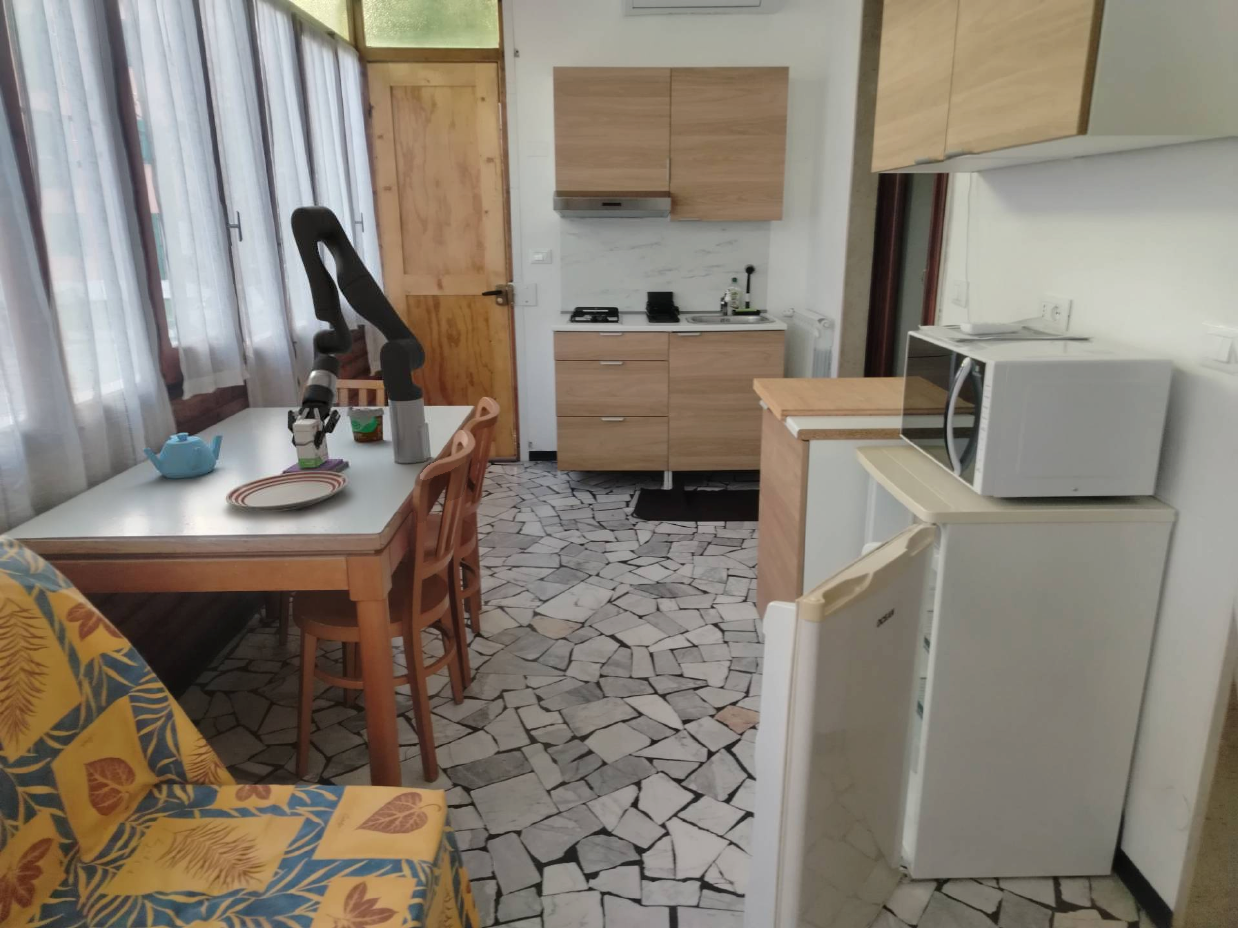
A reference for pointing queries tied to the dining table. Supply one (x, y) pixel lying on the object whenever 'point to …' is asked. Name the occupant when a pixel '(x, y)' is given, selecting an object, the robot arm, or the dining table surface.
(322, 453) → the ink box
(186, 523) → the dining table surface
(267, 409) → the dining table surface
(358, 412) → the food container
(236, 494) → the dinner plate
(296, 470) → the ink pad
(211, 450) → the teapot
